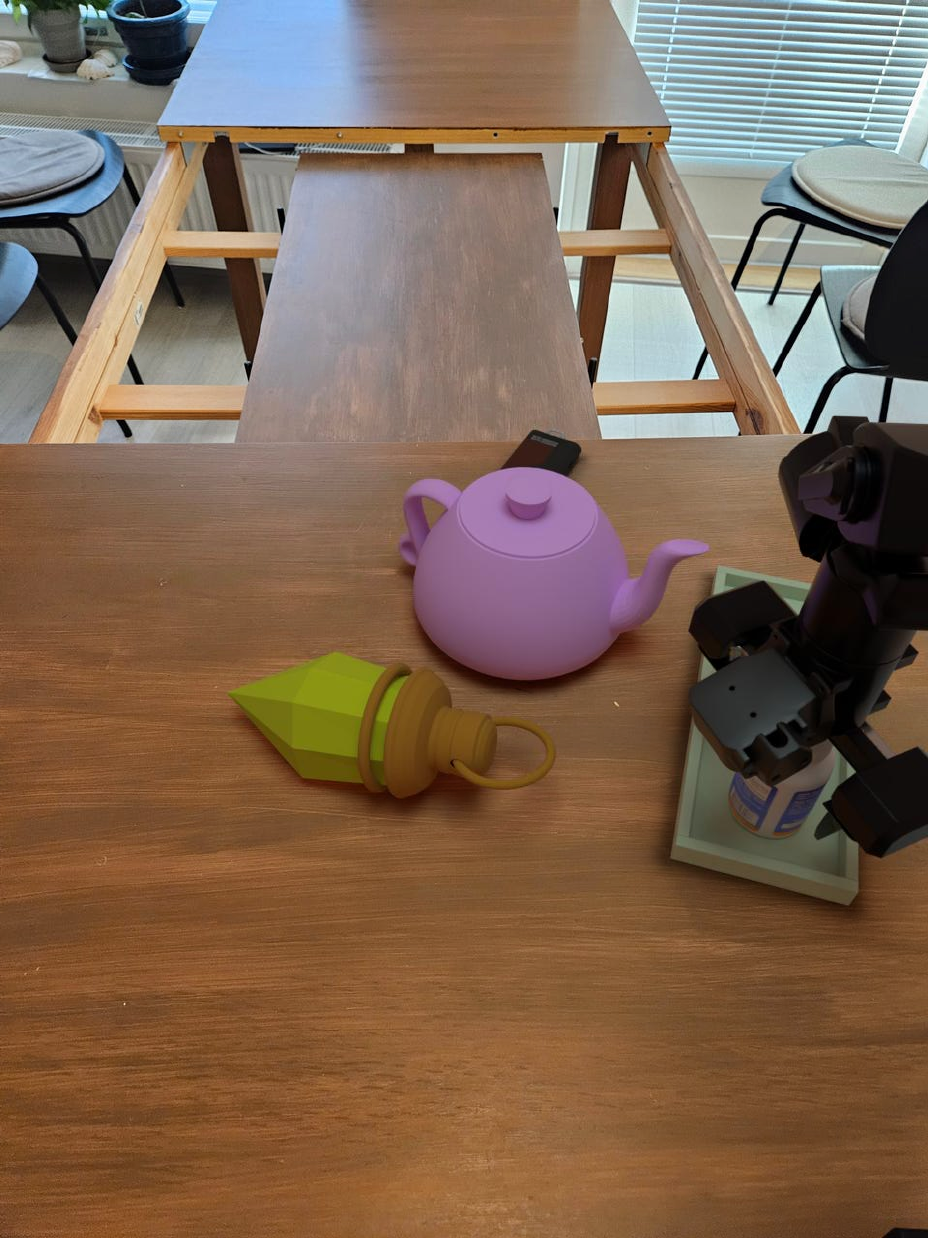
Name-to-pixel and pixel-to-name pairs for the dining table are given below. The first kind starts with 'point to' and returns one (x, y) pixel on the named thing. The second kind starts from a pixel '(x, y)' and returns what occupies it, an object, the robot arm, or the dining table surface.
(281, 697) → the plumb bob
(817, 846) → the tray
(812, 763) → the pill bottle
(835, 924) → the dining table surface
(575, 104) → the dining table surface
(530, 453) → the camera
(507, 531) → the teapot
